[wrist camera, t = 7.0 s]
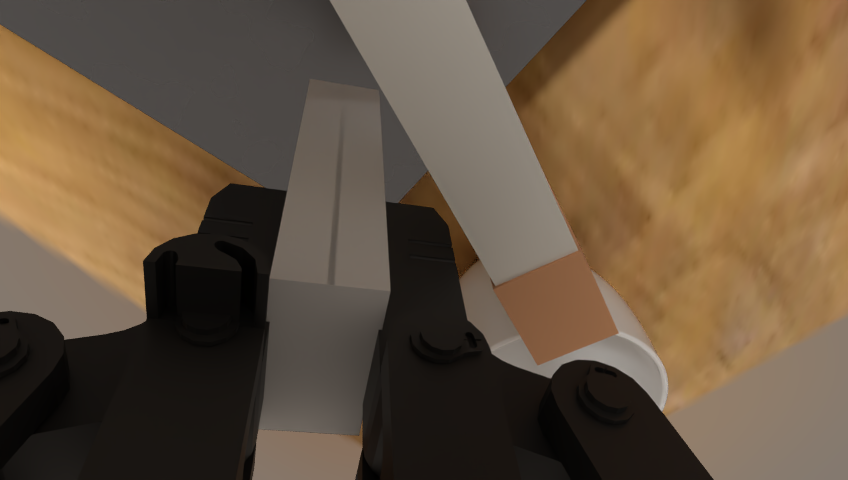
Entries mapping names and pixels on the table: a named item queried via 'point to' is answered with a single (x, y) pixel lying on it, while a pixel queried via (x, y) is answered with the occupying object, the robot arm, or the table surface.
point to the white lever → (482, 165)
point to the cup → (619, 351)
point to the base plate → (251, 67)
